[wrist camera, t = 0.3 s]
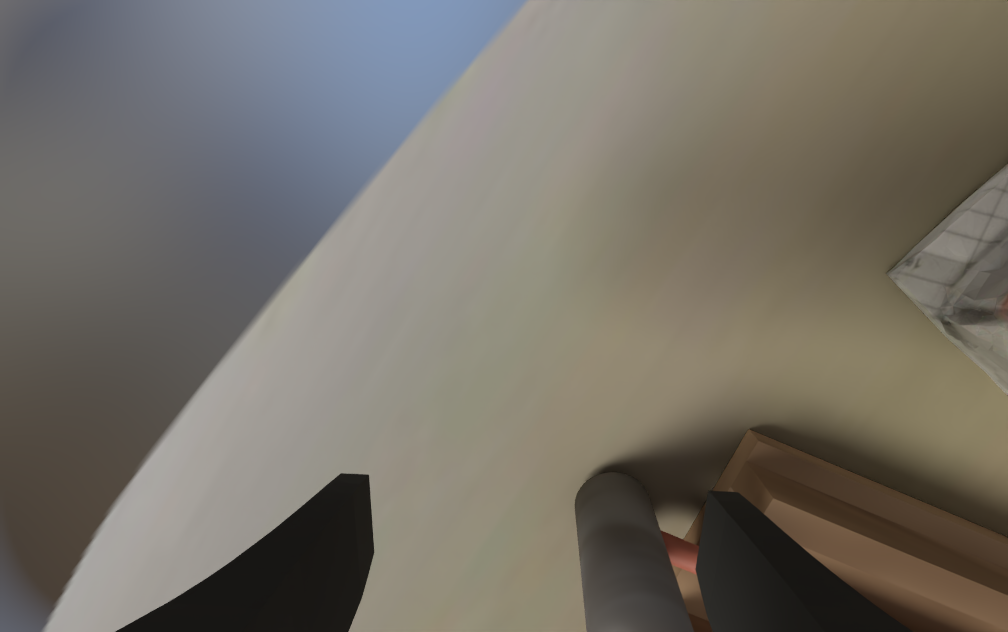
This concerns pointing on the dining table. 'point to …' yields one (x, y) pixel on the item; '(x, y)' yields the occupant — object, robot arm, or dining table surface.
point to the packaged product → (966, 277)
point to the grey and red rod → (629, 559)
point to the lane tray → (869, 541)
